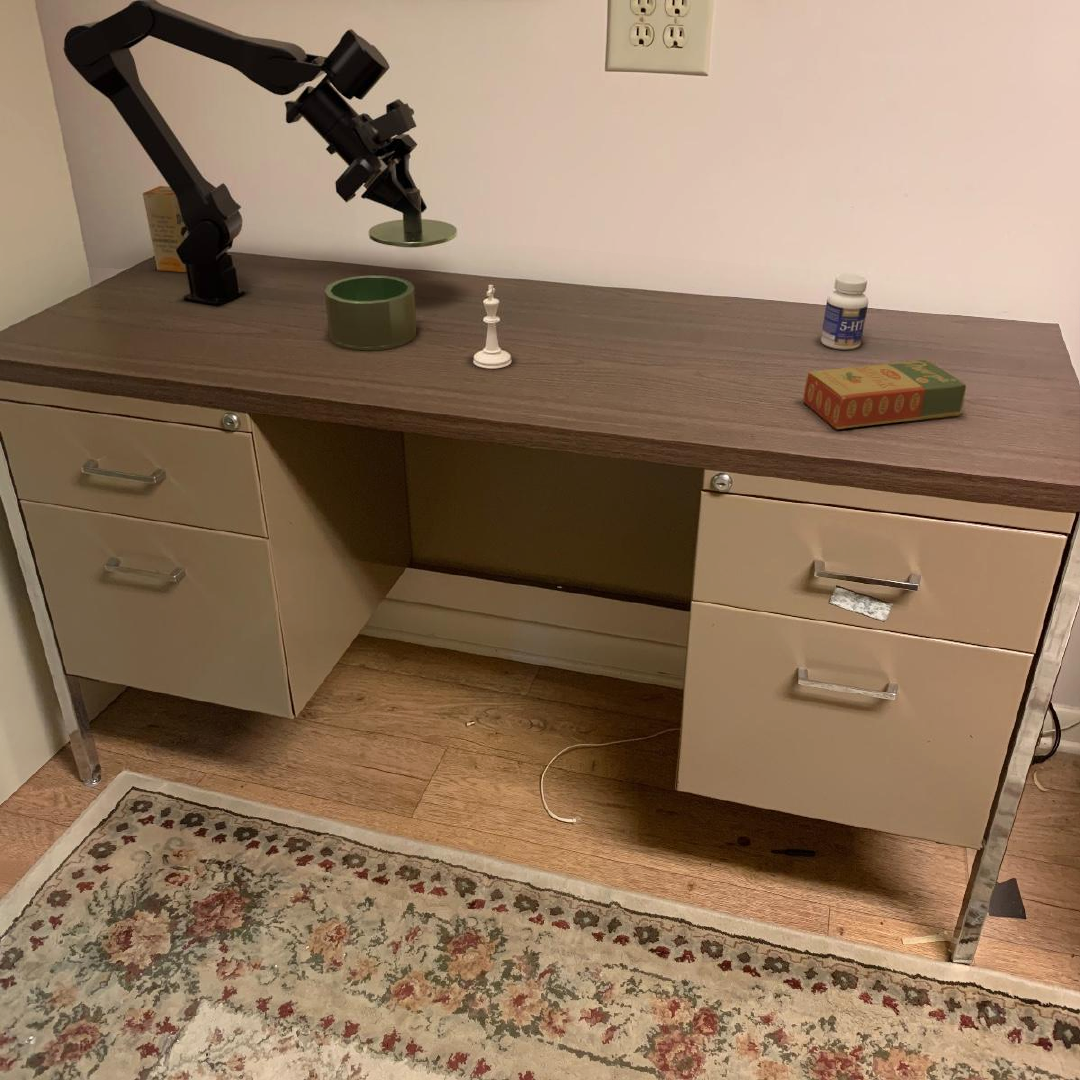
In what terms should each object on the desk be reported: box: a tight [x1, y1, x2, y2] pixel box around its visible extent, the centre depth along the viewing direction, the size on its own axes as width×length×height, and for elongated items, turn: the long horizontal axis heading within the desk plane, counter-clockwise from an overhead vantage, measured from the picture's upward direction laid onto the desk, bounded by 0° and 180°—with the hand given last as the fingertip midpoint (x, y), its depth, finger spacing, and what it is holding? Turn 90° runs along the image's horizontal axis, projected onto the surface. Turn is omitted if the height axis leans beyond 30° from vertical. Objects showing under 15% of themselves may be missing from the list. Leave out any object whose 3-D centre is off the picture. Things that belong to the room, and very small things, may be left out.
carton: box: [802, 359, 967, 430], centre depth 119 cm, size 8×16×4 cm, turn 105°
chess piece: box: [472, 284, 513, 370], centre depth 130 cm, size 5×5×10 cm
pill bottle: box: [820, 273, 869, 351], centre depth 136 cm, size 5×5×9 cm
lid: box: [368, 188, 458, 248], centre depth 144 cm, size 12×12×7 cm
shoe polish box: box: [142, 185, 189, 273], centre depth 163 cm, size 5×5×12 cm
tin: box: [324, 274, 417, 352], centre depth 139 cm, size 12×12×6 cm
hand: (421, 213), depth 143 cm, fingers closed on lid, 2 cm apart
